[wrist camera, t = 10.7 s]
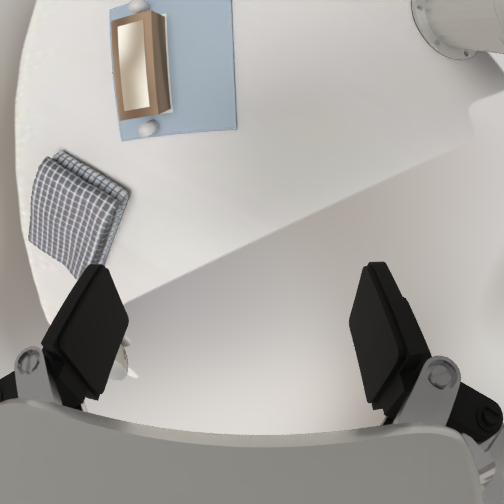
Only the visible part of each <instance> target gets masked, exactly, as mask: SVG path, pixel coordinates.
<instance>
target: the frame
mask: <svg viewBox="0 0 504 504" xmlns="http://www.w3.org/2000/svg"><path fill="white" fill-rule="evenodd" d="M111 35H112V53H113V67H114V78H115V88H116V97H117V105H118V113H119V120H120V121H123V120H128V119H134V118H140V117H146V116H152V115H159V114H161V113H163V112H165V111H167V110H169V109H171V105H170V94H169V82H168V69H167V53H166V34H165V17H164V16H162V15H160V14H158V13H156V12H154V11H152V10H149V11H145V12H141V13H137V14H133V15H130V16H126V17H123V18H119V19H116V20H113V21H111Z"/></svg>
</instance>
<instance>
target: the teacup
mask: <svg viewBox="0 0 504 504" xmlns="http://www.w3.org/2000/svg"><path fill="white" fill-rule="evenodd" d="M127 372H128V359H127V355H126V352H125V350H124V348H123V346H122V344H121V345H120V347H119V350H118V353H117V355H116V358H115V361H114V364H113V366H112V369H111V372H110V375H109V378H108V379H112V380H123V379H125V378H126V376H127Z"/></svg>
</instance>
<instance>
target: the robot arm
mask: <svg viewBox="0 0 504 504" xmlns="http://www.w3.org/2000/svg"><path fill="white" fill-rule="evenodd" d="M412 11H413V16H414V19H415V22H416V25H417V26H418V28H419V30H420V32H421V34H422V35H423V37H424V38H425V39H426V41H427V42H428V43H429V44H430V45H431V46H432V47H433V48H434V49H435V50H437V51H438V52H440V53H441V54H442V55H445V56H447V57H449V58H453V59H460V60H462V59H468V58H470V57H472V56H473V55H475V54H476V52H477V51H485V52H494V53H502V54H504V0H412ZM128 322H129V319H128V315H127V313H126V311H125V309H124V306H123V304H122V302H121V299H120V297H119V294H118V292H117V290H116V287H115V285H114V282H113V280H112V277H111V275H110V272H109V270H108V269H107V268H105V266H104V265H103V264H89V265H88V266H87V267H86V269H85V270H84V272H83V273H82V275H81V276H80V278H79V279H78V281H77V282H76V284H75V286H74V287H73V289H72V290H71V292H70V293H69V295H68V297H67V298H66V300H65V302H64V303H63V305H62V307H61V308H60V310H59V312H58V313H57V315H56V317H55V318H54V320H53V322H52V324H51V325H50V327H49V329H48V331H47V333H46V335H45V336H44V338H43V340H42V342H41V344H42V345H43V349H42V350H41V349H40V348H38V347H36V346H31V347H28V348H26V349H24V350H23V351H22V352H21V353H20V354H19V355H18V357H17V359H16V361H15V368H14V369H15V371H13V372H12V373H10V374H8V375H7V376H5V377H3V378H2V379H0V504H504V424H503V414H502V411H501V408H500V407H499V405H498V404H497V403H496V402H494V401H493V400H492V399H490V398H488V397H486V396H485V395H483V394H481V393H479V392H478V391H476V390H474V389H473V388H471V387H469V386H467V385H466V384H464V383H462V382H460V381H461V374H460V371H459V368H458V367H457V365H456V364H455V363H454V362H453V361H452V360H451V359H449V358H447V357H444V356H434V357H432V356H431V353H430V351H429V349H428V346H427V344H426V341H425V339H424V336H423V334H422V332H421V329H420V327H419V325H418V323H417V321H416V318H415V316H414V314H413V312H412V309H411V307H410V305H409V303H408V301H407V300H406V298H404V297H402V295H401V293H400V290H399V288H398V286H397V284H396V282H395V280H394V278H393V276H392V274H391V272H390V270H389V269H388V266H387V265H386V263H385V262H369V263H368V265H367V266H365V267H363V270H362V274H361V278H360V281H359V285H358V289H357V293H356V297H355V300H354V304H353V308H352V311H351V314H350V318H349V327H350V331H351V334H352V338H353V342H354V346H355V351H356V355H357V359H358V363H359V367H360V372H361V376H362V380H363V385H364V390H365V394H366V399H367V402H368V403H372V407H373V410H376V409H383V411H384V415H386V417H385V418H384V420H383V422H382V423H381V425H380V426H376V427H367V428H360V429H353V430H344V431H334V432H323V433H311V434H294V435H230V434H212V433H201V432H190V431H182V430H174V429H166V428H159V427H153V426H146V425H141V424H136V423H131V422H126V421H121V420H116V419H112V418H108V417H104V416H100V415H95V414H92V413H88V411H87V408H86V405H85V403H84V399H85V397H87V398H89V399H94V400H98V399H99V396H100V394H102V393H103V392H104V389H105V386H106V384H107V380H108V378H109V375H110V372H111V369H112V366H113V364H114V361H115V358H116V355H117V353H118V350H119V347H120V345H121V342H122V339H123V337H124V334H125V332H126V329H127V327H128Z"/></svg>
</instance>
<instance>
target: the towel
mask: <svg viewBox="0 0 504 504" xmlns="http://www.w3.org/2000/svg"><path fill="white" fill-rule="evenodd" d="M32 189H33V190H32V196H31V216H30V219H31V220H30V228H29V236H28V237H29V241H30V242H31V243H33V244H34V245H35V246H37V247H38V248H39V249H40V250H42V251H43V252H45V253H47V254H48V255H50V256H52V258H54V259H56V260H57V261H59V262H61V263H62V264H63V265H65V266H66V267H67V268H68V270H69V271H70V273H71V274H72V275H73V276H74V277H75V279H79V278H80V276H81V275H82V273H83V272H84V270H85V269H86V267H87V266H88V265H89V264H103V265H104V264H105V262H106V258H107V255H108V252H109V250H110V247H111V245H112V242H113V239H114V236H115V233H116V230H117V228H118V225H119V222H120V220H121V217H122V214H123V211H124V209H125V207H126V204H127V200H128V198H129V193H128V192H127V191H126V190H124V189H123V188H122V187H121V186H119V185H117V184H116V183H114V182H112V181H111V180H110V179H107V178H106V177H104V176H103V175H101V174H100V173H99V172H96V171H95V170H94V169H92V168H90V167H89V166H87V165H85V164H83V163H81V162H79V161H78V160H75V158H73V157H71V156H70V155H69V154H67V153H65V152H64V151H63V150H60V151H59V152H58V153H57V154H56V155H54V156H53V158H52V159H51V158H50V157H46V158H45V159H44V161H43V162H42V164H41V165H40V166H39V168H38V172H37V175H36V178H35V180H34V184H33V188H32Z"/></svg>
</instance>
